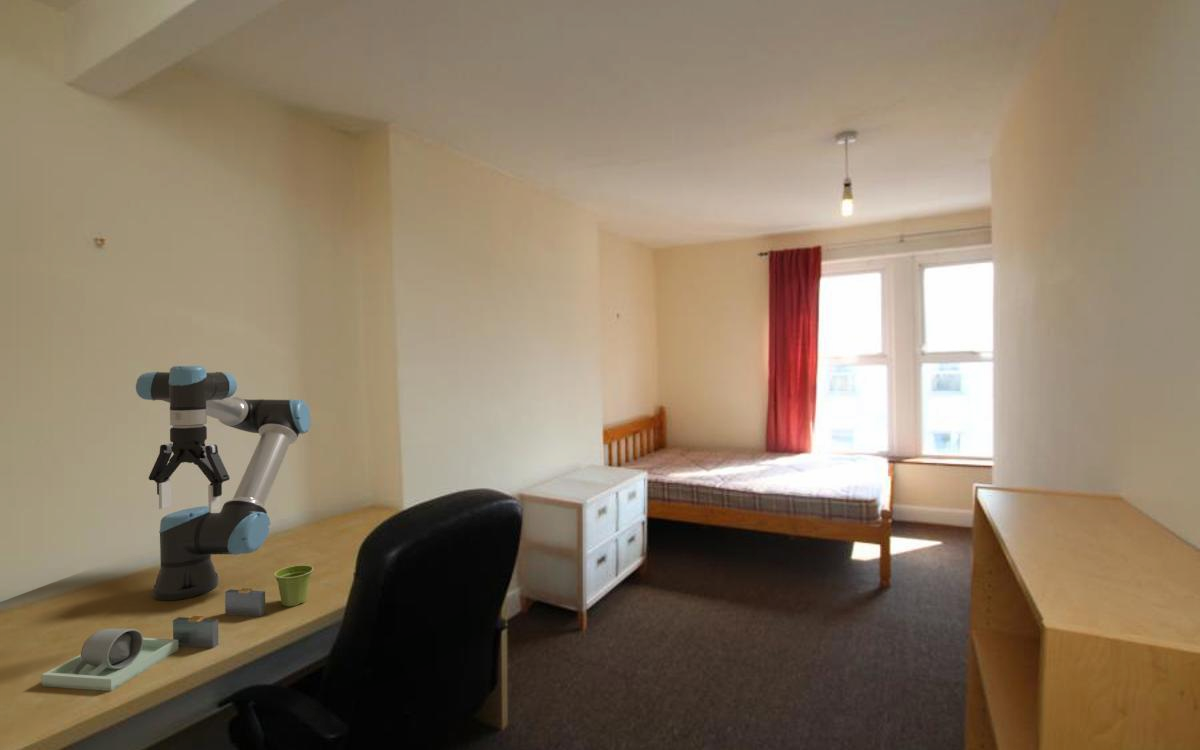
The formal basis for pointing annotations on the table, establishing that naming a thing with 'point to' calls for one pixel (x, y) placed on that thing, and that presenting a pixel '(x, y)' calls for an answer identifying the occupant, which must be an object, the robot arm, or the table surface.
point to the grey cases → (206, 630)
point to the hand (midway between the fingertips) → (189, 508)
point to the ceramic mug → (110, 650)
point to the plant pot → (293, 584)
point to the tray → (109, 677)
